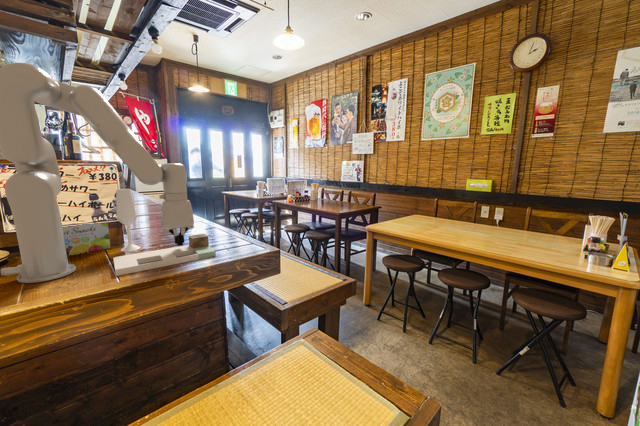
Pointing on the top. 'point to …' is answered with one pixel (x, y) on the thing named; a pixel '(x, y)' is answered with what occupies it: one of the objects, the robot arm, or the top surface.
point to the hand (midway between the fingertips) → (179, 245)
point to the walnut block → (198, 241)
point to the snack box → (86, 238)
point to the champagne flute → (126, 214)
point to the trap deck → (160, 258)
